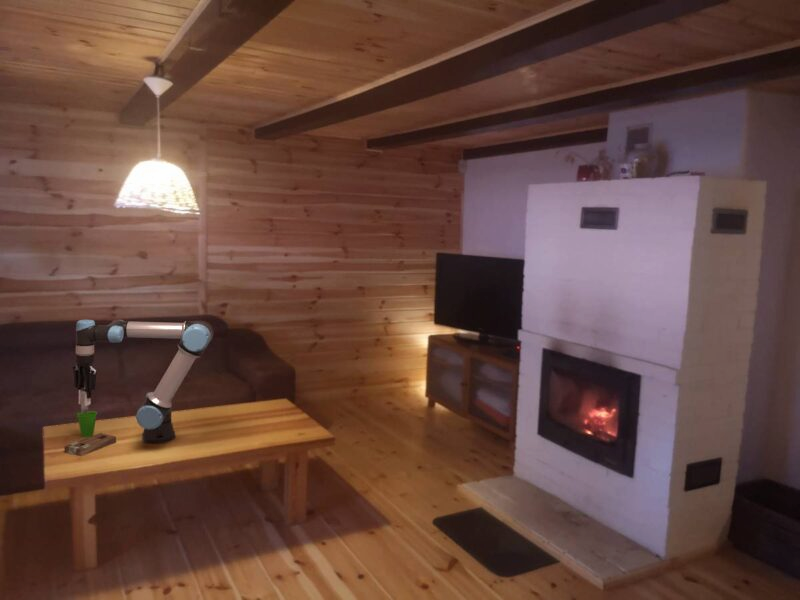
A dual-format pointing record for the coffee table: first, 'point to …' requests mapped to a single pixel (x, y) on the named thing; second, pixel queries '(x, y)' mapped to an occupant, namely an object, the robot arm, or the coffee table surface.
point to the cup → (87, 423)
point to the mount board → (90, 444)
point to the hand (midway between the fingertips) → (84, 404)
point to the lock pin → (83, 408)
